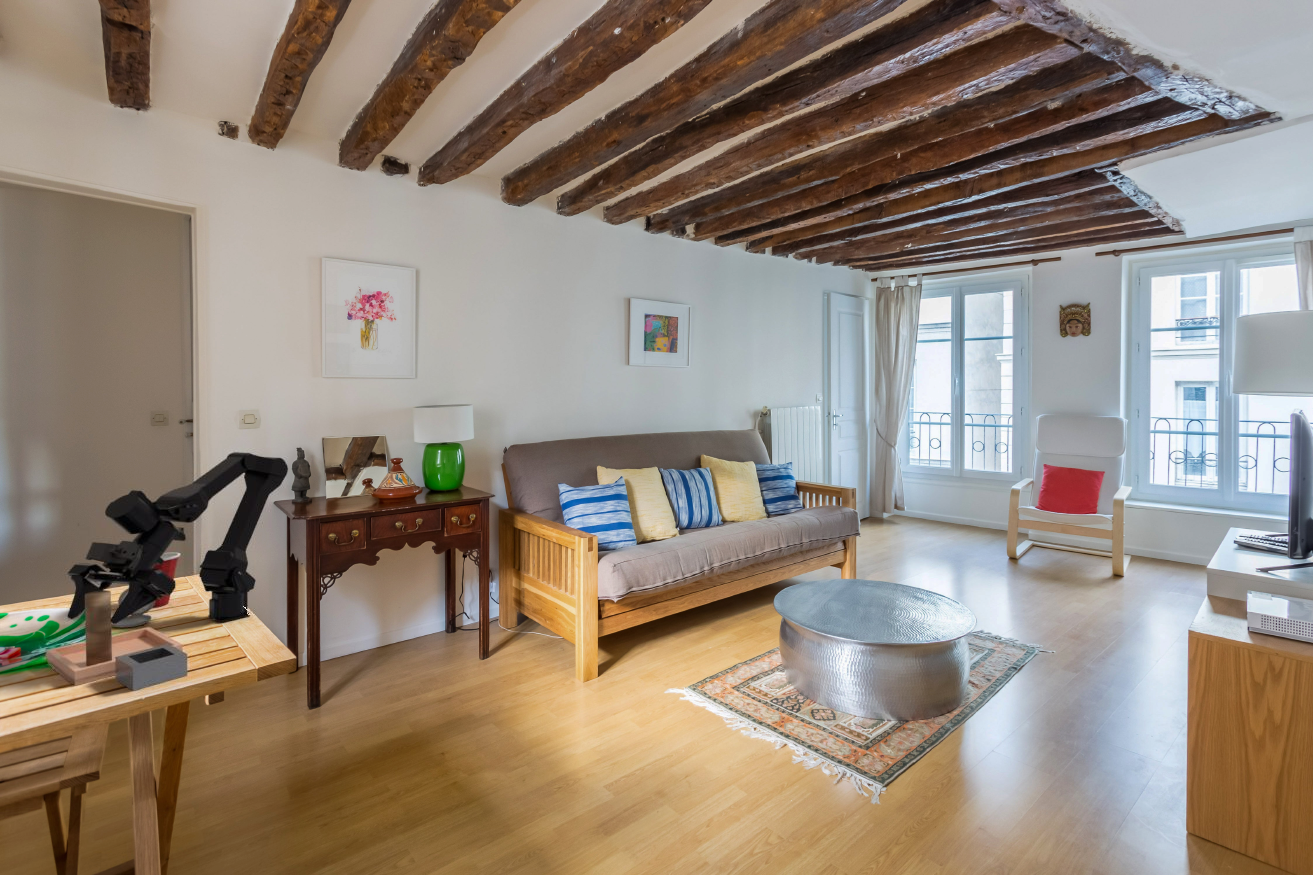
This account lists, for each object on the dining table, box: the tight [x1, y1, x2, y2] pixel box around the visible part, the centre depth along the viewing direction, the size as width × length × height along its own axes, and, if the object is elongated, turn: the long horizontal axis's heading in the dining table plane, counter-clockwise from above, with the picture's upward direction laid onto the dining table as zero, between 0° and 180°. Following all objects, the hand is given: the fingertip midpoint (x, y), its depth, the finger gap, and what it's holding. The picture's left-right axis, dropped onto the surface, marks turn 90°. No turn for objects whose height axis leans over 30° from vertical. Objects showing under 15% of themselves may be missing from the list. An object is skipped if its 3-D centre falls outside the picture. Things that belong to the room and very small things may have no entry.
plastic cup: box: [152, 551, 181, 609], centre depth 154 cm, size 11×11×12 cm
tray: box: [45, 626, 184, 687], centre depth 122 cm, size 16×16×2 cm
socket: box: [115, 644, 188, 692], centre depth 115 cm, size 8×8×4 cm
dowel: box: [84, 589, 113, 666], centre depth 118 cm, size 4×4×13 cm
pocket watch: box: [112, 587, 156, 628], centre depth 142 cm, size 8×8×10 cm
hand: (91, 620), depth 117 cm, fingers open, 9 cm apart
